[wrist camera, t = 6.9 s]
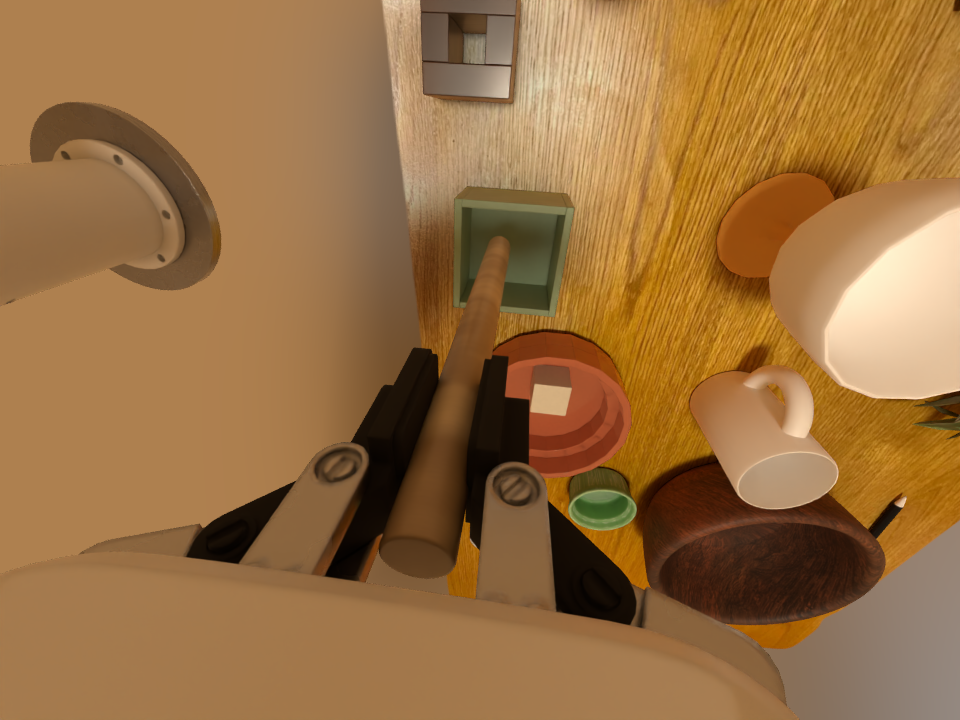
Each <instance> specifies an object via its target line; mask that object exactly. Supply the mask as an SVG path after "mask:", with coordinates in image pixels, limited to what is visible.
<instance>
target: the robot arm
mask: <svg viewBox="0 0 960 720" xmlns="http://www.w3.org/2000/svg"><path fill="white" fill-rule="evenodd" d="M184 244H185V230H184V225H183V220H182V218H181V215H180V212H179V209H178V207H177V205H176V203H175V201H174V199H173V198H172V196H171V195H170V193H169V192H168V190H167V189H166V187H165V186H164V184H163V183H162V182H161V181H160V180H159V178H158V177H157V176H156V175H155V174H154V173H153V172H152V171H151V170H150V169H149V168H148V167H147V166H146V165H145V164H144V163H143V162H141V161H140V160H139V159H137V158H136V157H135V156H133V155H132V154H130V153H129V152H127V151H125V150H123V149H122V148H120V147H118V146H116V145H113V144H111V143H108V142H105V141H101V140H95V139H77V140H72V141H68V142H66V143H65V144H63V145H61V146H60V147H59V148H58V150H57V151H56V152H55V154H54V157H53V160H52V161H49V162H36V163H23V164H10V165H0V306H2V305H5V304H8V303H11V302H14V301H16V300H19V299H22V298H25V297H28V296H31V295H34V294H37V293H40V292H43V291H45V290H48V289H51V288H54V287H57V286H60V285H63V284H66V283H69V282H72V281H74V280H77V279H80V278H83V277H86V276H89V275H92V274H95V273H97V272H100V271H103V270H106V269H109V268H112V267H115V266H118V265H121V264H127V265H130V266H133V267H136V268H142V269H157V268H161V267H164V266H166V265H169V264H171V263H173V262H174V261H175V260H177V259H178V258H179V256H180V254H181V253H182V251H183V247H184ZM508 361H509V356H499V355H492V357H491V359H485V360H484V365H483V370H482V375H481V380H480V385H479V390H478V395H477V400H476V405H475V410H474V415H473V420H472V425H471V430H470V435H469V441H468V448H467V473H466V484H467V486H468V498H467V503H466V522H468V523H470V539H471V540H472V542H473V543H474V544H475V545H476V547H477V548H478V549H479V550H480V556H479V567H478V578H477V589H476V599H471V598H464V597H458V596H451V595H445V594H438V593H432V592H425V591H418V590H412V589H405V588H398V587H391V586H385V585H377V584H371V583H366V580H367V577H368V575H369V572H370V570H371V567H372V565H373V562H374V560H375V557H376V554H377V552H378V549H379V543H380V540H381V538H382V535H383V532H384V529H385V527H386V524H387V521H388V518H389V516H390V513H391V510H392V507H393V505H394V502H395V499H396V496H397V494H398V491H399V488H400V485H401V483H402V480H403V477H404V475H405V473H406V470H407V467H408V464H409V462H410V459H411V456H412V453H413V451H414V448H415V445H416V442H417V439H418V437H419V434H420V431H421V428H422V426H423V423H424V420H425V417H426V415H427V412H428V409H429V406H430V404H431V401H432V398H433V395H434V393H435V390H436V387H437V384H438V382H439V376H438V356H437V354H432V350H431V349H424V348H413V349H412V351H411V353H410V355H409V357H408V359H407V361H406V363H405V365H404V366H403V368H402V370H401V372H400V374H399V376H398V378H397V380H396V382H395V384H394V385H384V386H383V387H382V388H381V390H380V392H379V393H378V395H377V397H376V399H375V401H374V402H373V404H372V406H371V408H370V409H369V411H368V413H367V415H366V416H365V418H364V420H363V422H362V424H361V425H360V427H359V429H358V430H357V432H356V434H355V436H354V438H353V440H352V441H351V442H350V443H349V442H342V443H337V444H333V445H331V446H328V447H326V448H324V449H323V450H321V451H320V452H318V453H317V454H316V455H315V456H314V457H313V458H312V460H311V461H310V462H309V464H308V465H307V466H306V468H305V469H304V471H303V472H302V474H301V475H300V476H299V478H298V479H297V481H294V482H293V483H290V484H288V485H286V486H284V487H282V488H279V489H278V490H275V491H273V492H271V493H269V494H267V495H265V496H262V497H260V498H258V499H256V500H254V501H252V502H250V503H248V504H245V505H244V506H241V507H239V508H237V509H235V510H233V511H230V512H228V513H227V514H224V515H222V516H221V517H219V518H217V519H215V520H214V521H212V522H211V523H210V524H209V525H207V526H206V527H205V528H202V527H201V525H200V524H195V525H190V526H185V527H179V528H173V529H168V530H162V531H156V532H151V533H145V534H140V535H134V536H128V537H123V538H117V539H111V540H108V541H104V542H101V543H98V544H96V545H94V546H92V547H90V548H88V549H86V550H84V551H82V552H81V553H80V554H78V555H71V556H65V557H60V558H56V559H51V560H47V561H42V562H38V563H33V564H30V565H27V566H23V567H20V568H17V569H14V570H10V571H7V572H5V573H2V574H0V720H800V719H799V718H798V717H797V716H796V715H795V714H794V713H793V712H792V711H791V710H790V709H789V708H788V707H787V704H786V698H785V690H784V686H783V682H782V679H781V676H780V673H779V670H778V668H777V667H776V665H775V664H774V662H773V661H772V659H771V657H770V656H769V654H768V653H767V652H765V650H764V649H763V648H762V647H761V646H760V645H759V644H758V643H757V642H756V641H754V640H753V639H751V638H750V637H748V636H747V635H745V634H744V633H742V632H740V631H738V630H736V629H734V628H732V627H730V626H728V625H726V624H724V623H722V622H720V621H717V620H715V619H713V618H711V617H709V616H707V615H705V614H703V613H701V612H699V611H697V610H695V609H693V608H691V607H689V606H686V605H684V604H682V603H680V602H678V601H676V600H674V599H672V598H670V597H668V596H666V595H664V594H662V593H660V592H658V591H655V590H653V589H651V588H649V587H646V589H645V590H643V589H641V588H639V587H637V586H635V585H633V584H631V583H630V581H629V579H628V578H627V577H626V575H625V574H624V573H623V572H622V571H621V569H620V568H619V567H618V566H616V565H615V564H614V563H613V562H612V561H611V560H610V559H609V558H608V557H607V556H606V555H605V554H604V553H603V552H602V551H601V550H600V549H599V548H597V547H596V546H595V545H594V544H593V543H592V542H591V541H590V540H589V539H588V538H587V537H586V536H585V535H584V534H583V533H582V532H581V531H580V530H579V529H577V528H576V527H575V526H574V525H573V524H572V523H571V522H570V521H569V520H568V519H567V518H566V517H565V516H564V515H563V514H562V513H561V512H560V511H559V510H557V509H556V508H555V507H554V506H553V505H552V504H551V503H550V502H549V501H548V499H547V488H546V484H545V480H544V479H543V477H542V476H541V474H540V473H539V472H538V471H537V470H536V469H534V468H533V467H531V466H529V407H530V403H529V399H521V398H511V397H505V393H506V382H507V371H508Z"/></svg>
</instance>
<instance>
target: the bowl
mask: <svg viewBox="0 0 960 720" xmlns="http://www.w3.org/2000/svg"><path fill="white" fill-rule="evenodd" d="M492 355H499V356H509V361H508V371H507V382H506V393H505V397H511V398H521V399H529V403H530V387H531V381H532V374H533V368H534V366H535V365H550V366H559V367H568V368H569V373H570V379H571V386H572V390H571V394H570V399H569V403H568V407H567V411H566V415H565V416H560V415H552V414H543V413H535V412H530V407H529V466H531V467H533V468H534V469H536V470H537V471H538V472H539V473H540V474H541V476H542V477H543V478H556V477H569V476H573V475H577V474H580V473H583V472H587V471H590V470H592V469H594V468H596V467H598V466H599V465H601V464H603V463H604V462H606V461H608V460H609V459H610V458H612V457H613V456H614V455H615V453H616V452H617V451H618V450H619V449H620V448H621V447H622V446H623V445H624V443H625V441H626V438H627V436H628V433H629V430H630V428H631V424H632V422H631V406H630V403H629V400H628V397H627V394H626V391H625V388H624V385H623V383H622V380H621V377H620V375H619V373H618V371H617V369H616V367H615V365H614V364H613V362H612V360H611V358H610V357H608V356H607V355H606V354H605V353H604V352H603V351H601V350H600V349H599V348H598V347H597V346H596V345H594V344H593V343H590V342H588V341H585V340H583V339H580V338H578V337H575V336H573V335H570V334H561V333H551V332H541V333H535V334H530V335H524V336H519V337H517V338H515V339H513V340H511V341H509V342H507V343H505V344H503V345H501V346H499V347H498V348H497V349H496V350H495V351H494V352H493V353H492Z"/></svg>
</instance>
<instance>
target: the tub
mask: <svg viewBox="0 0 960 720" xmlns="http://www.w3.org/2000/svg"><path fill="white" fill-rule="evenodd" d="M574 209H575V208H574V206H573V204H572V202H571V200H570V198H569V196H568V194H564V193H550V192H537V191H524V190H510V189H497V188H483V187H470V186H467V187H466V188H465V189H464V190H463V191H462V192H461V193H460V194H459V195H458V196H457V197H456V198H455V199H454V282H453V307H456V308H465V307H466V304H467V301H468V298H469V296H470V293H471V290H472V287H473V285H474V282H475V279H476V276H477V274H478V271H479V268H480V265H481V263H482V260H483V257H484V254H485V252H486V249H487V246H488V243H489V241H490V240H491V239H492V238H494V237H496V236H502V237H504V238H506V239H507V240H508V241H509V243H510V254H509V260H508V266H507V272H506V277H505V283H504V289H503V295H502V301H501V306H500V312H508V313H518V314H528V315H538V316H549V317H555V313H556V307H557V302H558V296H559V291H560V286H561V280H562V275H563V269H564V264H565V258H566V253H567V248H568V242H569V237H570V231H571V226H572V220H573V215H574Z"/></svg>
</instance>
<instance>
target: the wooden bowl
mask: <svg viewBox="0 0 960 720" xmlns="http://www.w3.org/2000/svg"><path fill="white" fill-rule="evenodd" d="M643 548H644V558H645V566H646V573H647V578H648V582H649V585H650V587H651V588H652V589H653V590H655V591H658V592H660V593H662V594H664V595H666V596H668V597H670V598H672V599H674V600H676V601H678V602H680V603H682V604H684V605H686V606H689V607H691V608H693V609H695V610H697V611H699V612H701V613H703V614H705V615H707V616H709V617H711V618H713V619H715V620H717V621H720V622H722V623H725V624H735V625H767V624H779V623H787V622H793V621H799V620H804V619H808V618H812V617H816V616H820V615H823V614H826V613H829V612H832V611H835V610H837V609H839V608H842V607H844V606H846V605H848V604H850V603H852V602H854V601H856V600H857V599H859V598H860V597H862V596H863V595H865V594H866V593H867V592H868V591H869V590H871V589H872V588H873V587H874V586H875V585H876V583H877V582H878V580H879V579H880V578H881V576H882V574H883V572H884V569H885V555H884V552H883V550H882V548H881V546H880V544H879V542H878V541H877V540H876V539H875V537H874V536H873V535H872V534H871V533H870V532H869V531H868V530H867V529H866V528H865V527H864V526H863V525H862V524H861V523H860V522H859V521H858V520H857V519H856V518H855V517H854V516H852V515H851V514H850V513H849V512H848V511H847V510H846V509H845V508H844V507H843V506H842V505H841V504H839V503H838V502H837V501H836V500H835V499H834V498H832V497H831V496H830V495H829V494H827V493H825V494H824V495H822V496H821V497H819V498H818V499H816V500H813V501H811V502H809V503H806V504H803V505H800V506H796V507H792V508H785V509H765V508H760V507H756V506H753V505H750V504H748V503H747V502H745V501H744V500H742V499H741V498H740V497H739V496H738V495H737V493H736V491H735V489H734V488H733V486H732V484H731V482H730V480H729V479H728V477H727V475H726V473H725V471H724V470H723V468H722V466H721V464H720V463H719V462H718V463H712V464H708V465H704V466H700V467H697V468H694V469H691V470H689V471H686V472H684V473H682V474H680V475H678V476H676V477H675V478H673V479H672V480H670V481H669V482H667V483H666V484H665V485H664V486H663V487H662V488H660V489H659V491H658V492H657V493H656V494H655V495H654V497H653V498H652V500H651V502H650V504H649V506H648V509H647V512H646V516H645V520H644V527H643Z"/></svg>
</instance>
